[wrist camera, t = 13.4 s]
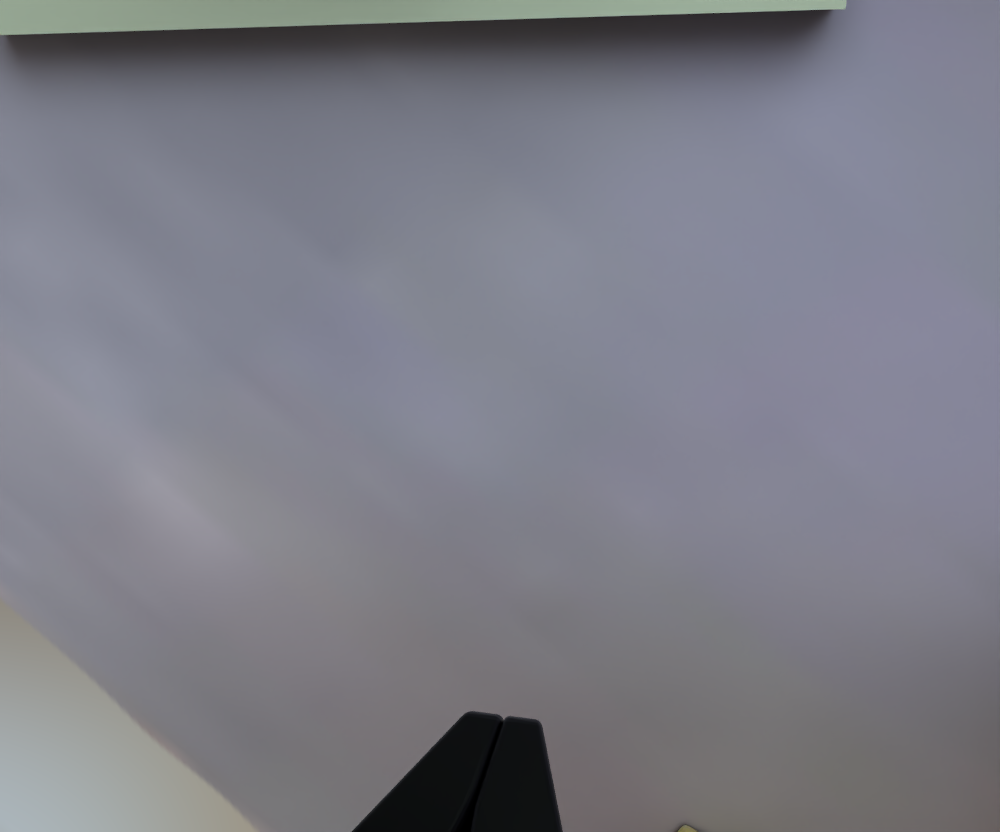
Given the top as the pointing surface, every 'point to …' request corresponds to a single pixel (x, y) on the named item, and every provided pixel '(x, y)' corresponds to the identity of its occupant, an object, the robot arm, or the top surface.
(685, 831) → the candy box
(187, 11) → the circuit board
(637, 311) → the top surface
